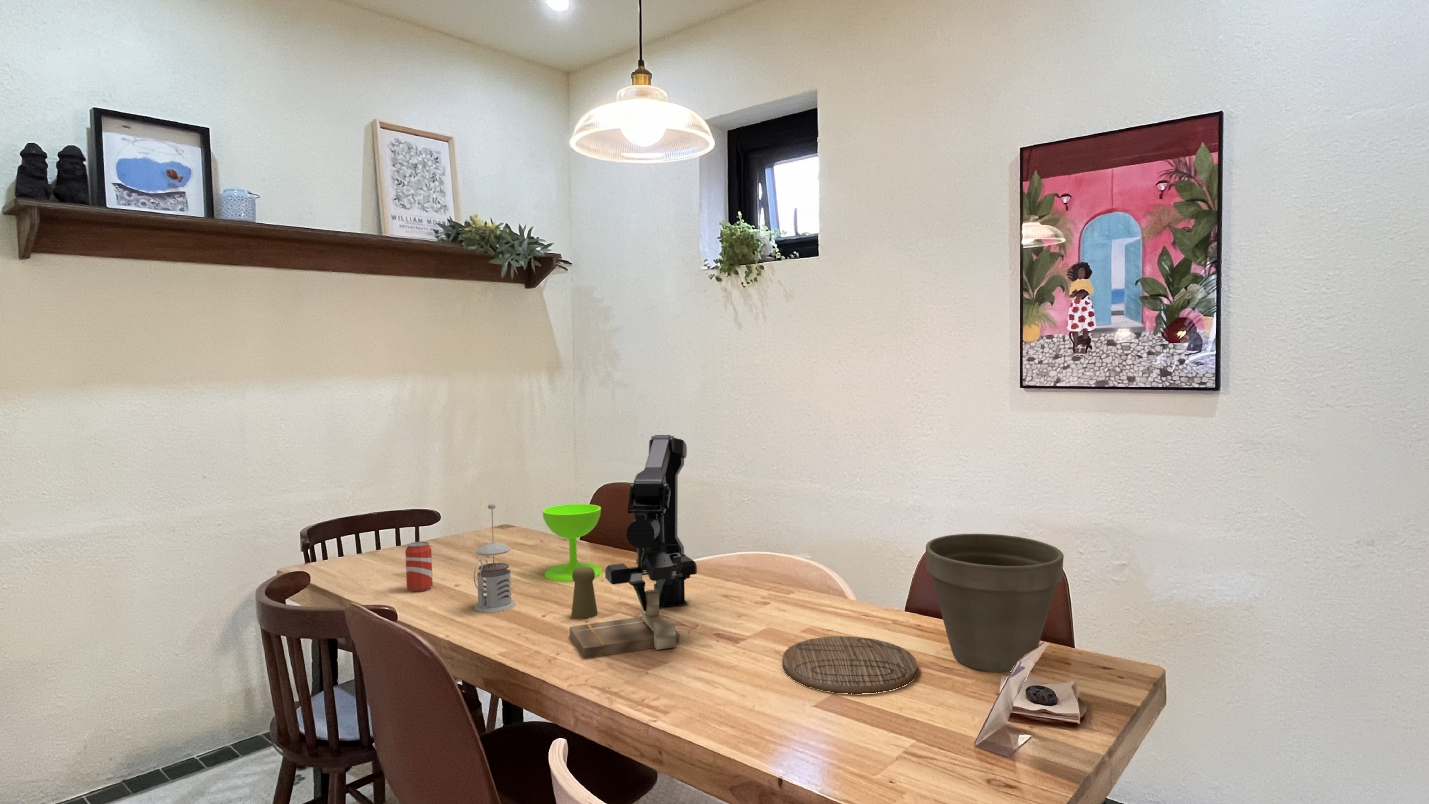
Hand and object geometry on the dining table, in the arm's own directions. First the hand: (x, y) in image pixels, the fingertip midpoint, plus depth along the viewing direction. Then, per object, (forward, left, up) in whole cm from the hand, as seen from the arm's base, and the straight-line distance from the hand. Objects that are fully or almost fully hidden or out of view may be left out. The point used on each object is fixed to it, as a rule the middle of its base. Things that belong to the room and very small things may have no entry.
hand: (652, 609), depth 167 cm
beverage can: (+45, -59, -6) cm, 75 cm away
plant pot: (-56, +40, -6) cm, 69 cm away
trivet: (-29, +32, -6) cm, 43 cm away
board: (+6, 0, -6) cm, 8 cm away
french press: (+29, -35, -6) cm, 46 cm away
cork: (+10, -20, -6) cm, 23 cm away
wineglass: (+5, -57, -6) cm, 58 cm away
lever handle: (0, +3, -5) cm, 6 cm away
